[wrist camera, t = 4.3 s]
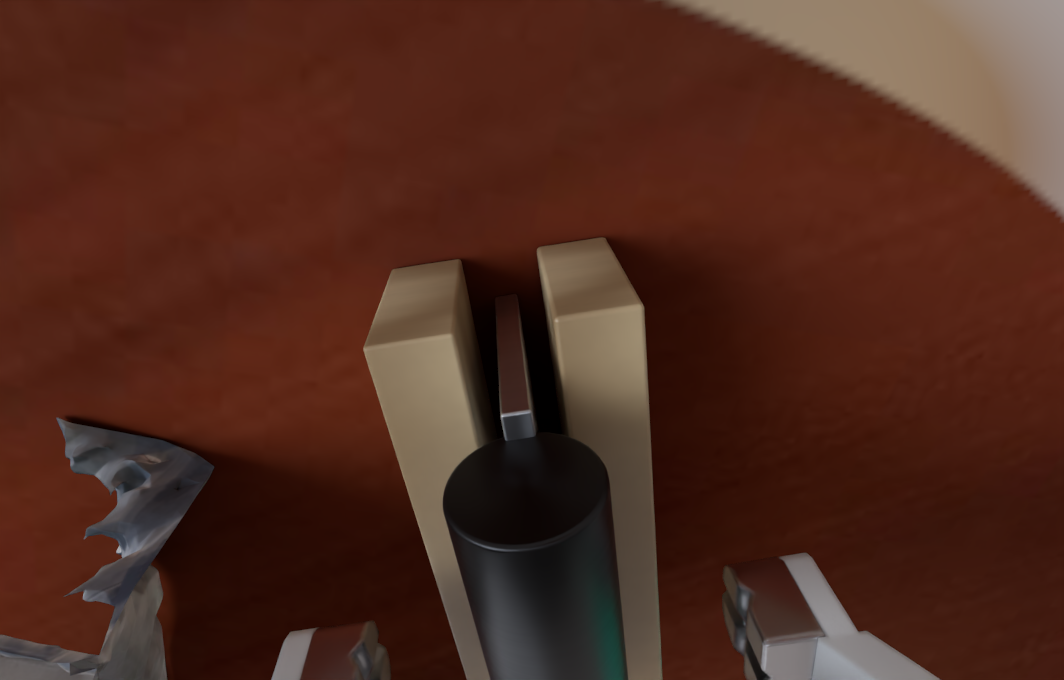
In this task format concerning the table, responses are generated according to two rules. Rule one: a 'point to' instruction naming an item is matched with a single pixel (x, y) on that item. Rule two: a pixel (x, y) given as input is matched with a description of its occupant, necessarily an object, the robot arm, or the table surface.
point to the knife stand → (467, 422)
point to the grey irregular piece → (131, 582)
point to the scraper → (536, 538)
